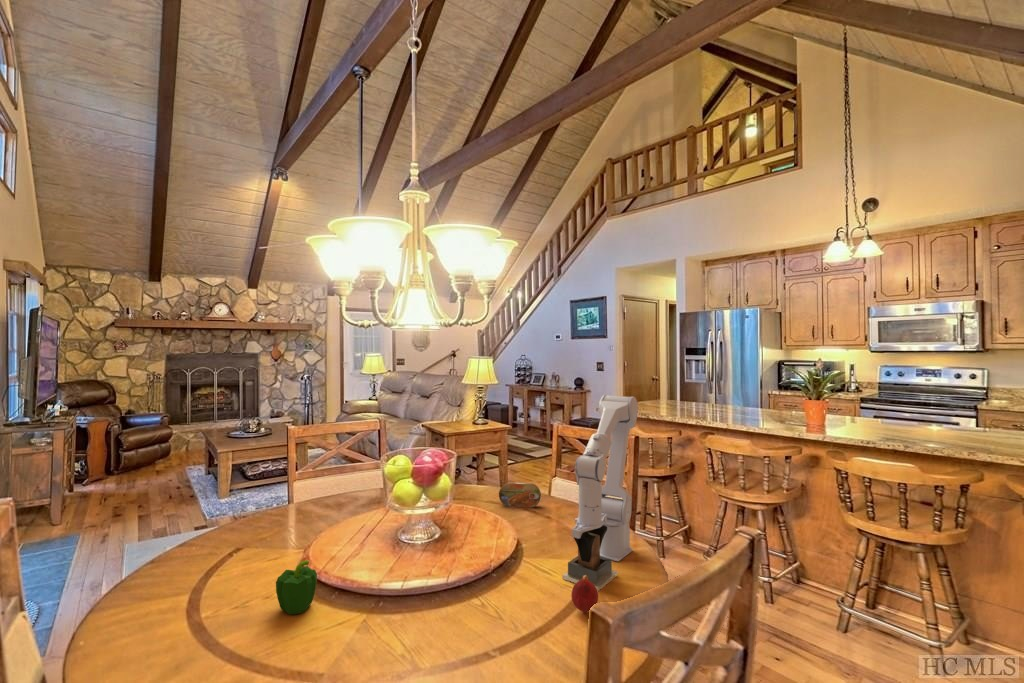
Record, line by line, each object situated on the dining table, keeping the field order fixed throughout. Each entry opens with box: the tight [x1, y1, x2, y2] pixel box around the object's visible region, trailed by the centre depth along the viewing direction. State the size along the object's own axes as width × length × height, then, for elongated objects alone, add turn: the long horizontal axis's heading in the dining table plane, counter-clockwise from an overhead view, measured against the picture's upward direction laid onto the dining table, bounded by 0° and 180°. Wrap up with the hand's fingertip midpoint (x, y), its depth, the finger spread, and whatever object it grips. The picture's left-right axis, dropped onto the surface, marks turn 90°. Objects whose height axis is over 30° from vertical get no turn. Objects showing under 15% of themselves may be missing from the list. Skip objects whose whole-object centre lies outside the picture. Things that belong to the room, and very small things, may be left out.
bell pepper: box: [275, 559, 318, 616], centre depth 110 cm, size 8×8×10 cm
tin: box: [498, 481, 542, 509], centre depth 178 cm, size 15×3×8 cm, turn 80°
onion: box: [571, 575, 599, 614], centre depth 108 cm, size 6×6×8 cm
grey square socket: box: [561, 555, 618, 592], centre depth 125 cm, size 10×10×4 cm
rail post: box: [577, 532, 601, 569], centre depth 125 cm, size 4×4×8 cm
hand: (590, 557), depth 125 cm, fingers closed on rail post, 4 cm apart
